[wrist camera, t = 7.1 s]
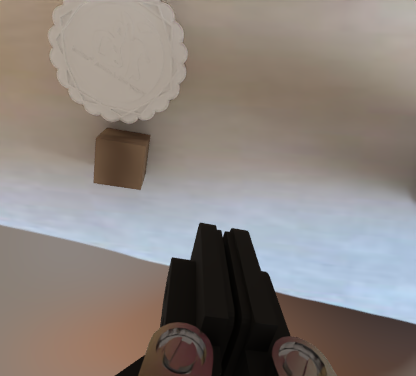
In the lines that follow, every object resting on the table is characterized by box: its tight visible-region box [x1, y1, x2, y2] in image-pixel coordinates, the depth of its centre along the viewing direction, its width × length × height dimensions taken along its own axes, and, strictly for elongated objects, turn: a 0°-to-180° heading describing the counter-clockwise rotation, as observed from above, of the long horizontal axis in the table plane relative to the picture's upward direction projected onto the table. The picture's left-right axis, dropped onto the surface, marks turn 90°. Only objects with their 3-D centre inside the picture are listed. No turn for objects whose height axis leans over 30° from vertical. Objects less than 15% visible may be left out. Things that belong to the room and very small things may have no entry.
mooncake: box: [48, 0, 188, 124], centre depth 27 cm, size 12×12×4 cm
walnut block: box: [94, 128, 150, 190], centre depth 30 cm, size 4×4×4 cm
